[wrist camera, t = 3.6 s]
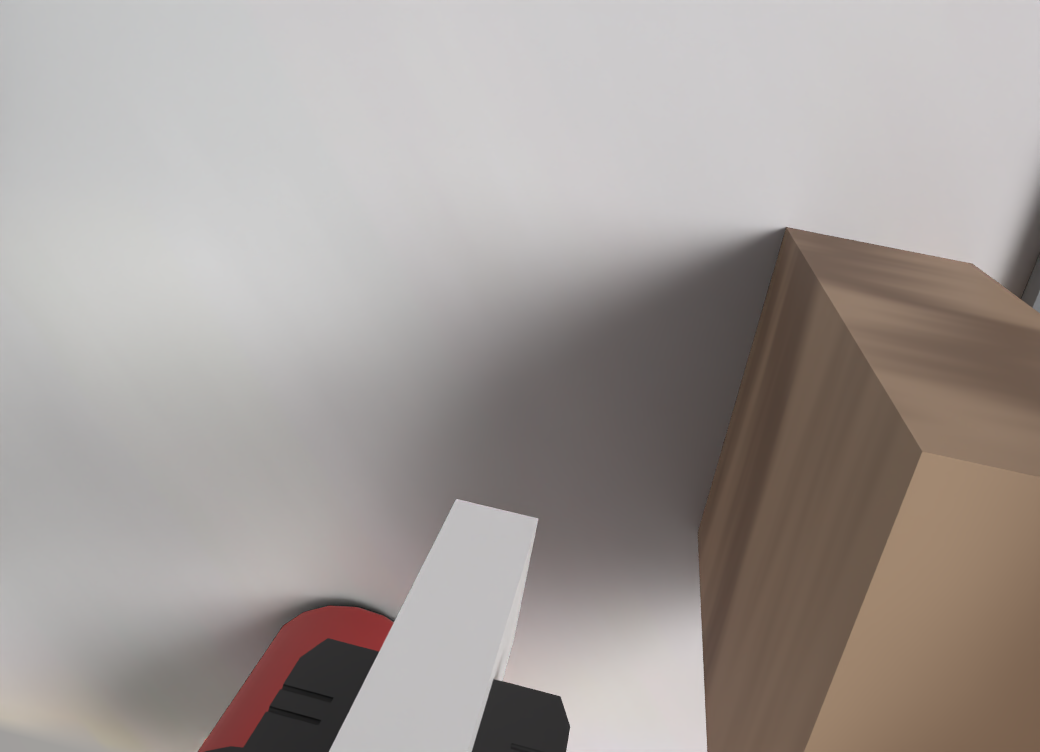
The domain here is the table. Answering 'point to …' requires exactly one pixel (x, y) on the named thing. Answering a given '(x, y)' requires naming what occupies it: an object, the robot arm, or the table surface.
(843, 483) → the walnut block
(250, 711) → the beer can
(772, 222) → the table surface
